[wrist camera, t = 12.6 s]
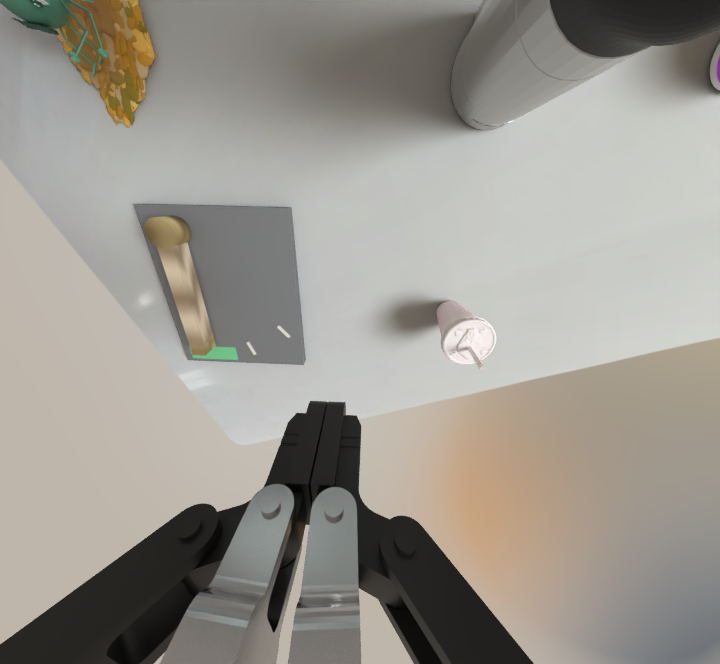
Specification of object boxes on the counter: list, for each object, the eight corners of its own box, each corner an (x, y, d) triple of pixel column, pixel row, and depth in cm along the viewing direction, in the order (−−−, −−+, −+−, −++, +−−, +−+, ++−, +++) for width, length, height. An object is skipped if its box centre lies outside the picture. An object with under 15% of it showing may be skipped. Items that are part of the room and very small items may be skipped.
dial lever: (159, 215, 33) (139, 216, 30) (186, 215, 33) (169, 217, 30) (199, 344, 42) (187, 355, 39) (221, 345, 42) (210, 356, 39)
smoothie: (427, 331, 42) (450, 389, 29) (427, 294, 39) (453, 340, 26) (468, 328, 41) (509, 385, 29) (471, 289, 38) (519, 335, 26)
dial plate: (142, 203, 34) (132, 204, 33) (291, 207, 34) (287, 207, 32) (193, 355, 46) (187, 360, 44) (305, 359, 45) (303, 365, 44)
